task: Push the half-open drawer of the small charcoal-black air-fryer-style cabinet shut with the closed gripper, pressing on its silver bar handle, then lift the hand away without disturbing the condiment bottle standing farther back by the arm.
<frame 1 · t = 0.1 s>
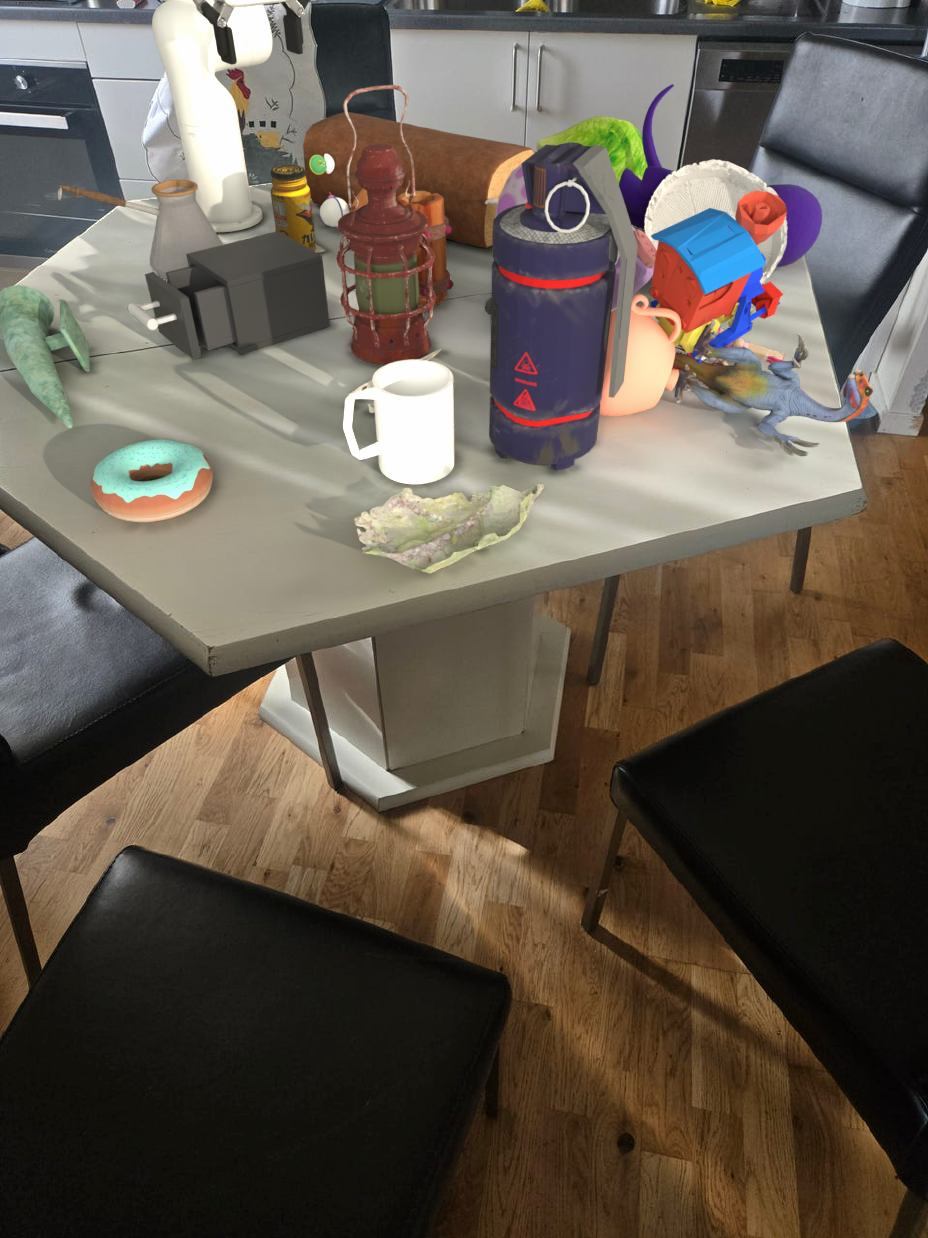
hand: (262, 57, 116), 28 cm above the table, tool pointing down, fingers open, 9 cm apart
toy 5: (780, 371, 110), point 1 cm above the table, touching teacup, toy train
cabinet: (265, 325, 122), on the table
bread: (419, 216, 154), on the table, touching figurine
decorative handle: (524, 309, 126), on the table, touching toy 3
figurine: (542, 206, 137), point 7 cm above the table, touching bread
canister: (550, 448, 99), on the table
drawer: (199, 308, 115), point 5 cm above the table, slide at 5.0 cm
toy 4: (631, 162, 139), point 11 cm above the table, touching food container
toy dinosaur: (693, 353, 99), point 8 cm above the table, touching sugar bowl, toy train
lettuce: (609, 112, 147), point 15 cm above the table
mug: (405, 300, 129), on the table
decorative horn: (29, 441, 100), on the table
cabbage leaf: (510, 532, 81), point 4 cm above the table
cup: (401, 469, 96), on the table
sugar bowl: (591, 346, 101), point 8 cm above the table, touching toy dinosaur, toy train
jawbone: (403, 385, 111), on the table
donut: (157, 497, 93), on the table
food container: (716, 225, 123), point 10 cm above the table, touching toy 4
teacup: (629, 318, 111), point 5 cm above the table, touching toy 5
lantern: (391, 348, 117), on the table
toy 3: (620, 243, 134), point 4 cm above the table, touching decorative handle
condiment: (292, 251, 143), on the table
toy 2: (323, 195, 151), point 4 cm above the table
toy train: (710, 321, 107), point 7 cm above the table, touching sugar bowl, toy dinosaur, toy 5
coffee pot: (160, 283, 134), on the table
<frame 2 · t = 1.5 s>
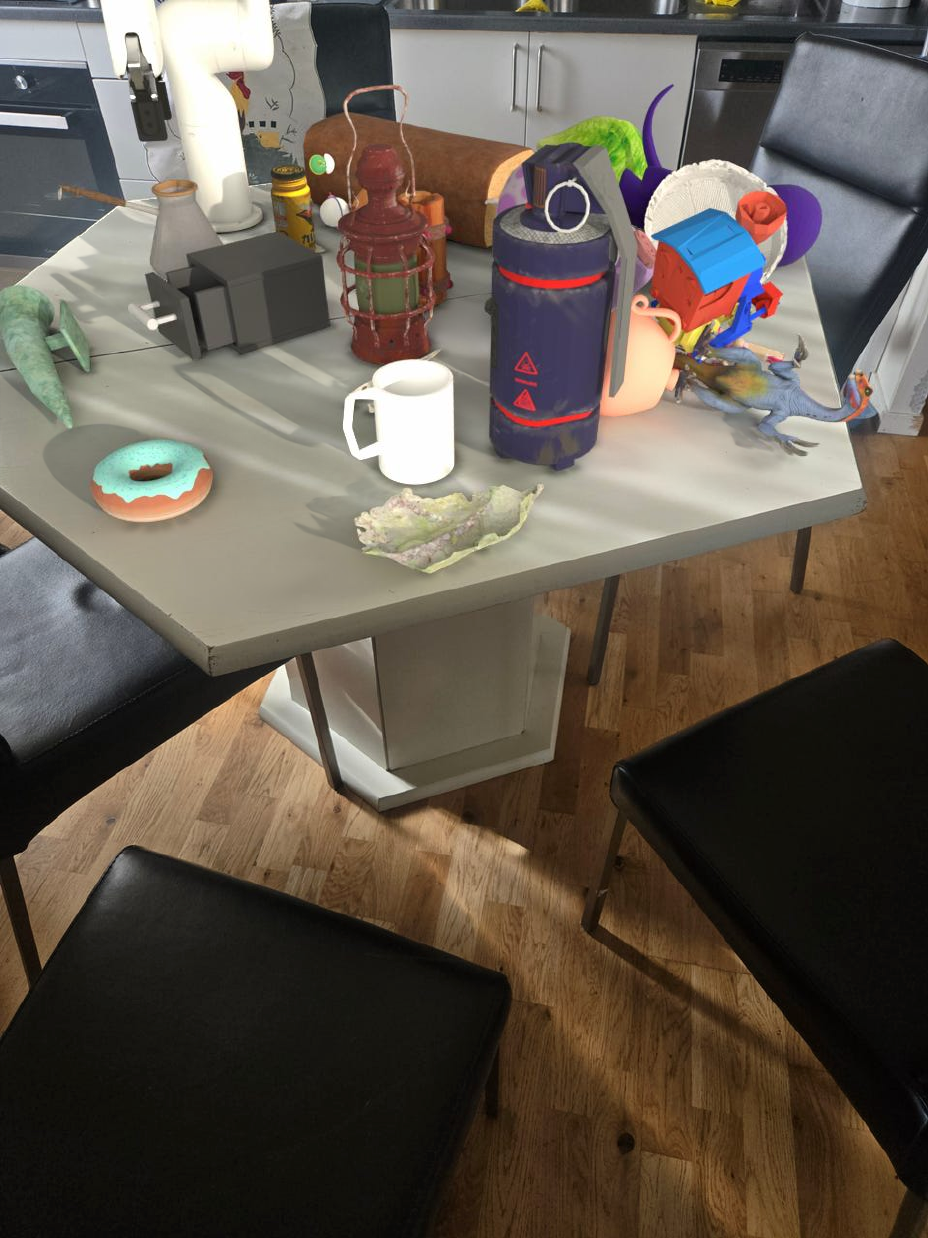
hand: (156, 129, 106), 24 cm above the table, tool pointing down, fingers open, 9 cm apart
toy 4: (631, 162, 139), point 11 cm above the table, touching food container, lettuce
lettuce: (609, 112, 147), point 15 cm above the table, touching toy 4
everything else where it was.
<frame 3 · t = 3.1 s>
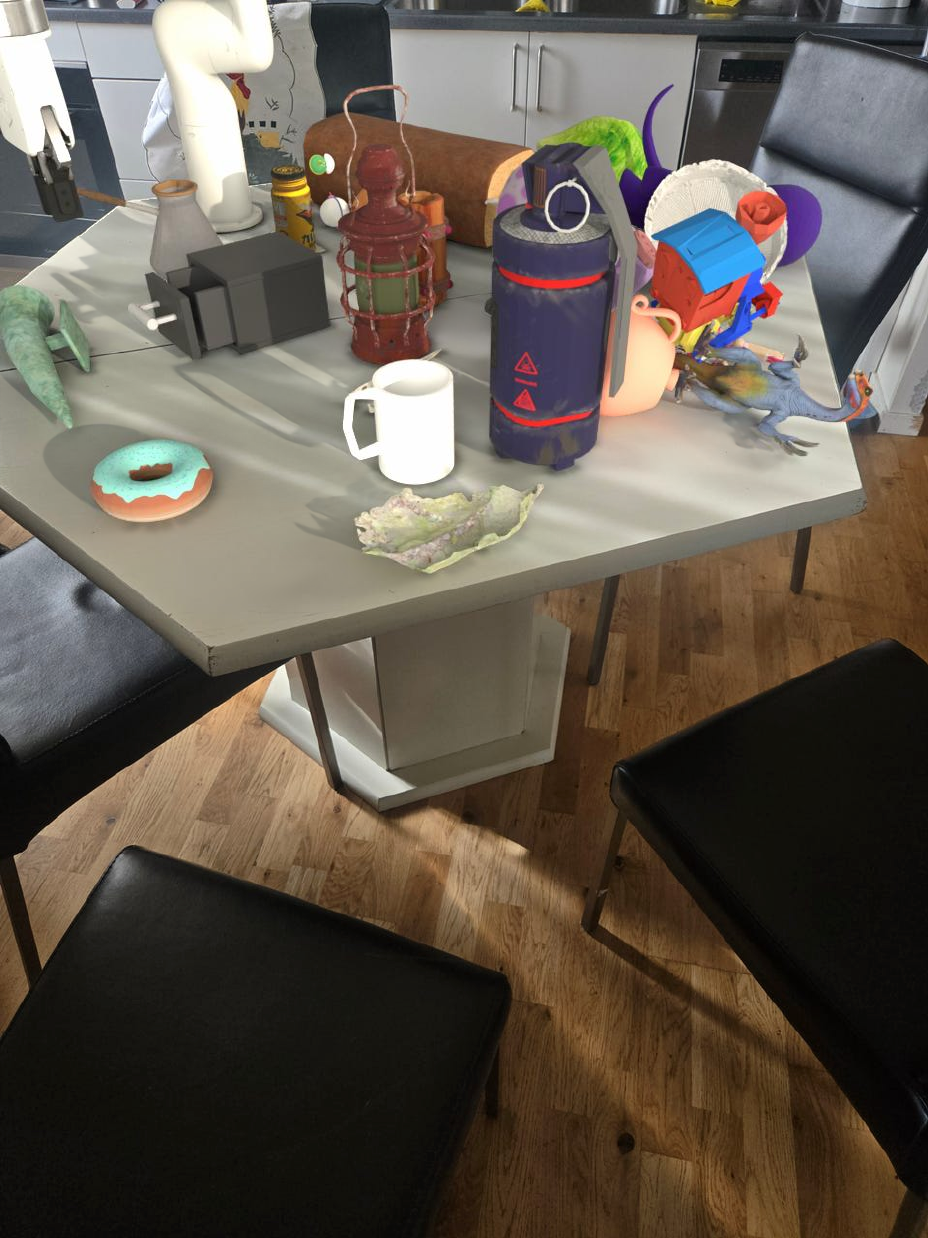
hand: (64, 214, 100), 19 cm above the table, tool pointing down, fingers closed
nothing on the table moved.
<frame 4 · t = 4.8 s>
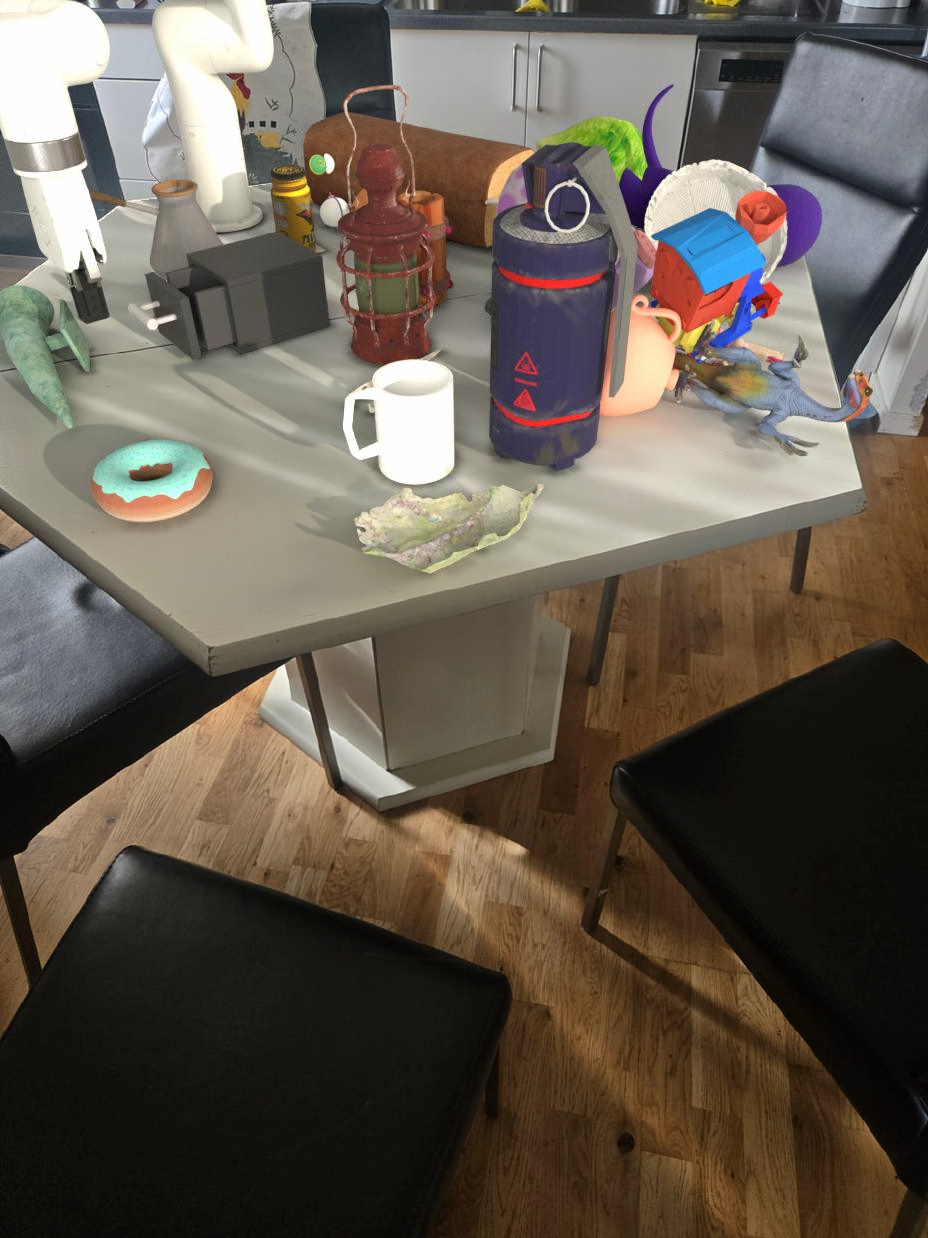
hand: (94, 318, 108), 7 cm above the table, tool pointing down, fingers closed
nothing on the table moved.
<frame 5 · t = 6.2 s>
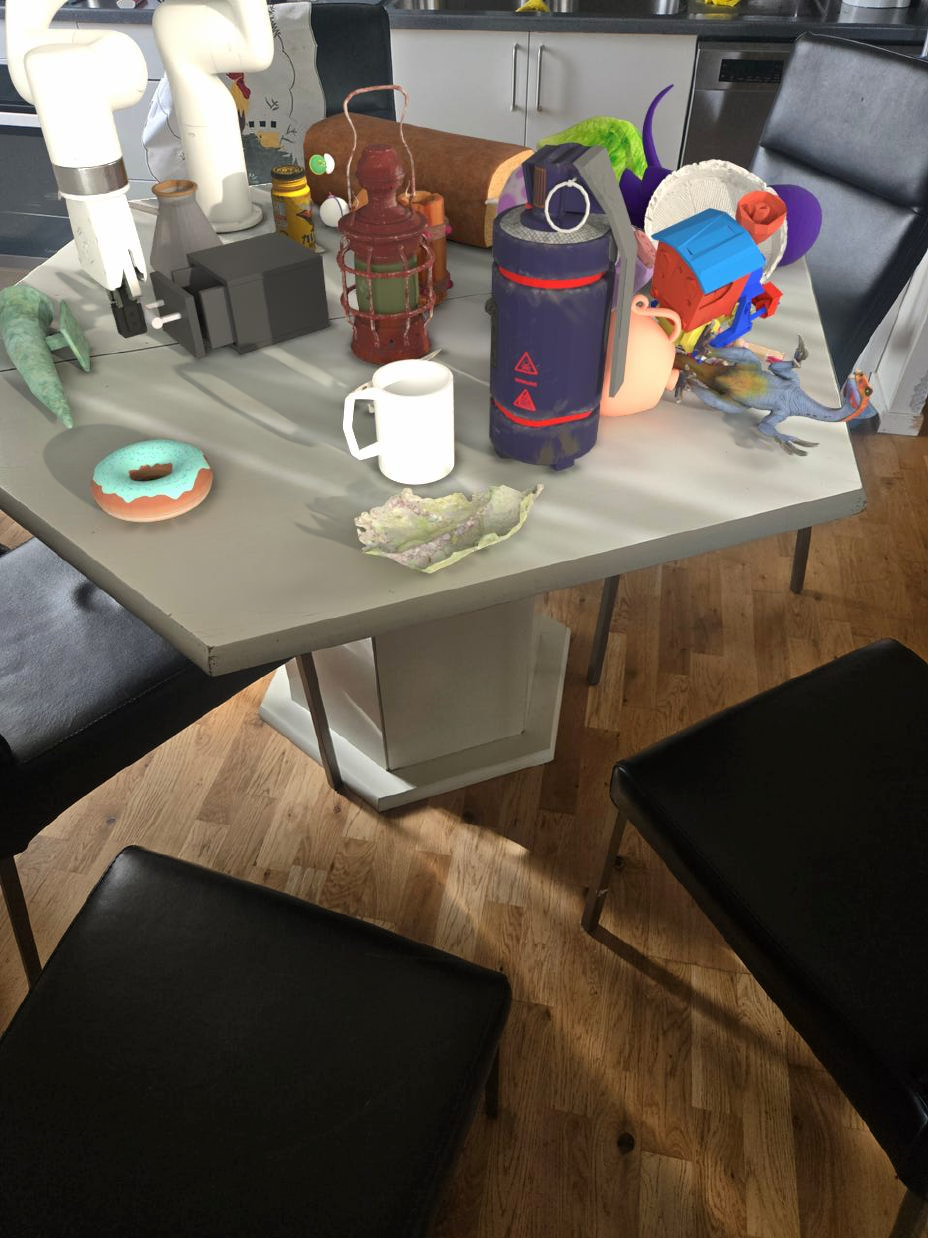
hand: (133, 333, 112), 4 cm above the table, tool pointing down, fingers closed
drawer: (204, 306, 116), point 5 cm above the table, slide at 4.4 cm, touching gripper
everything else where it was.
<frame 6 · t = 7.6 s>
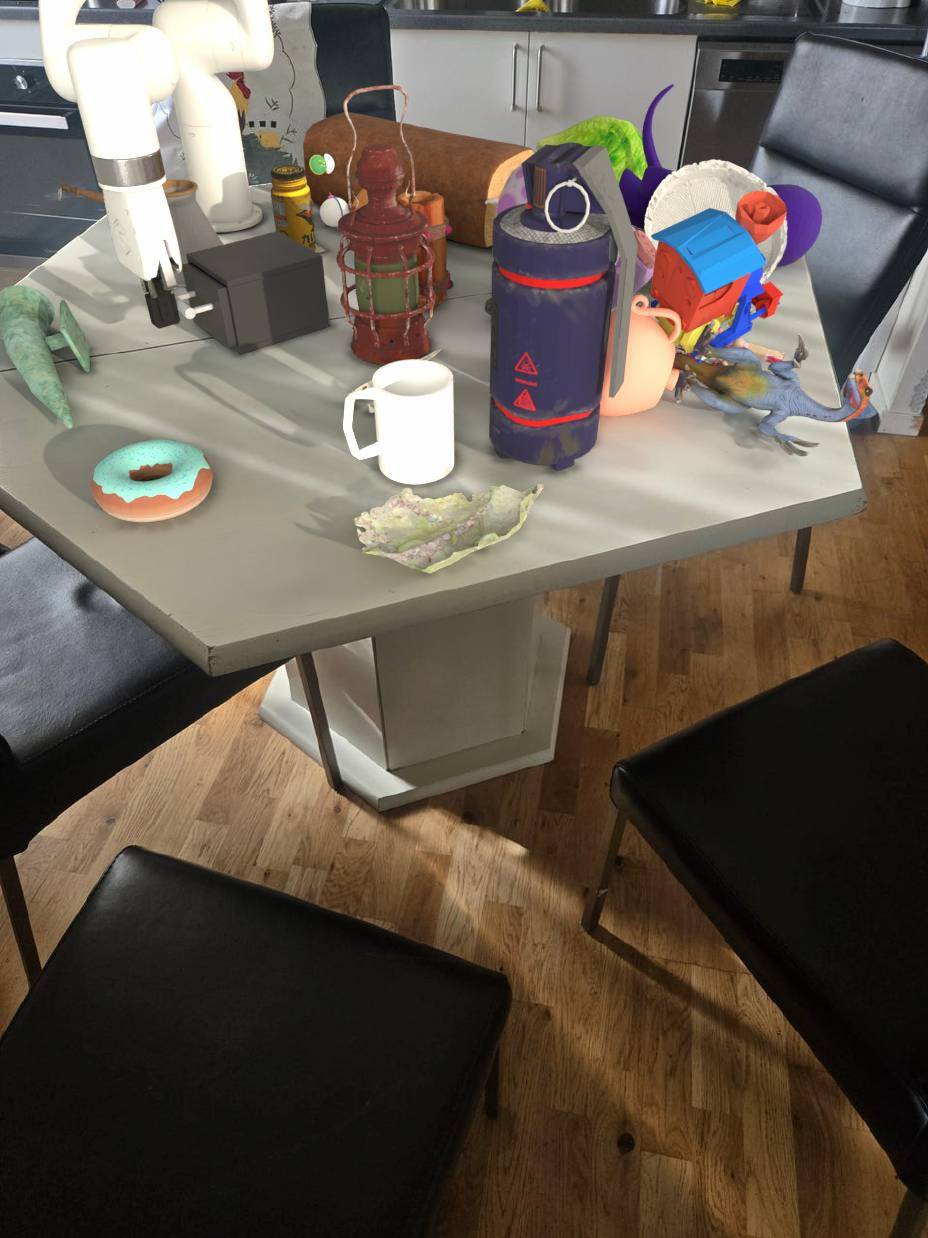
hand: (166, 323, 114), 4 cm above the table, tool pointing down, fingers closed
bread: (419, 216, 154), on the table, touching figurine, toy 2
drawer: (234, 298, 118), point 5 cm above the table, slide at 0.0 cm, touching cabinet, gripper
toy 2: (323, 195, 151), point 4 cm above the table, touching bread
everything else where it was.
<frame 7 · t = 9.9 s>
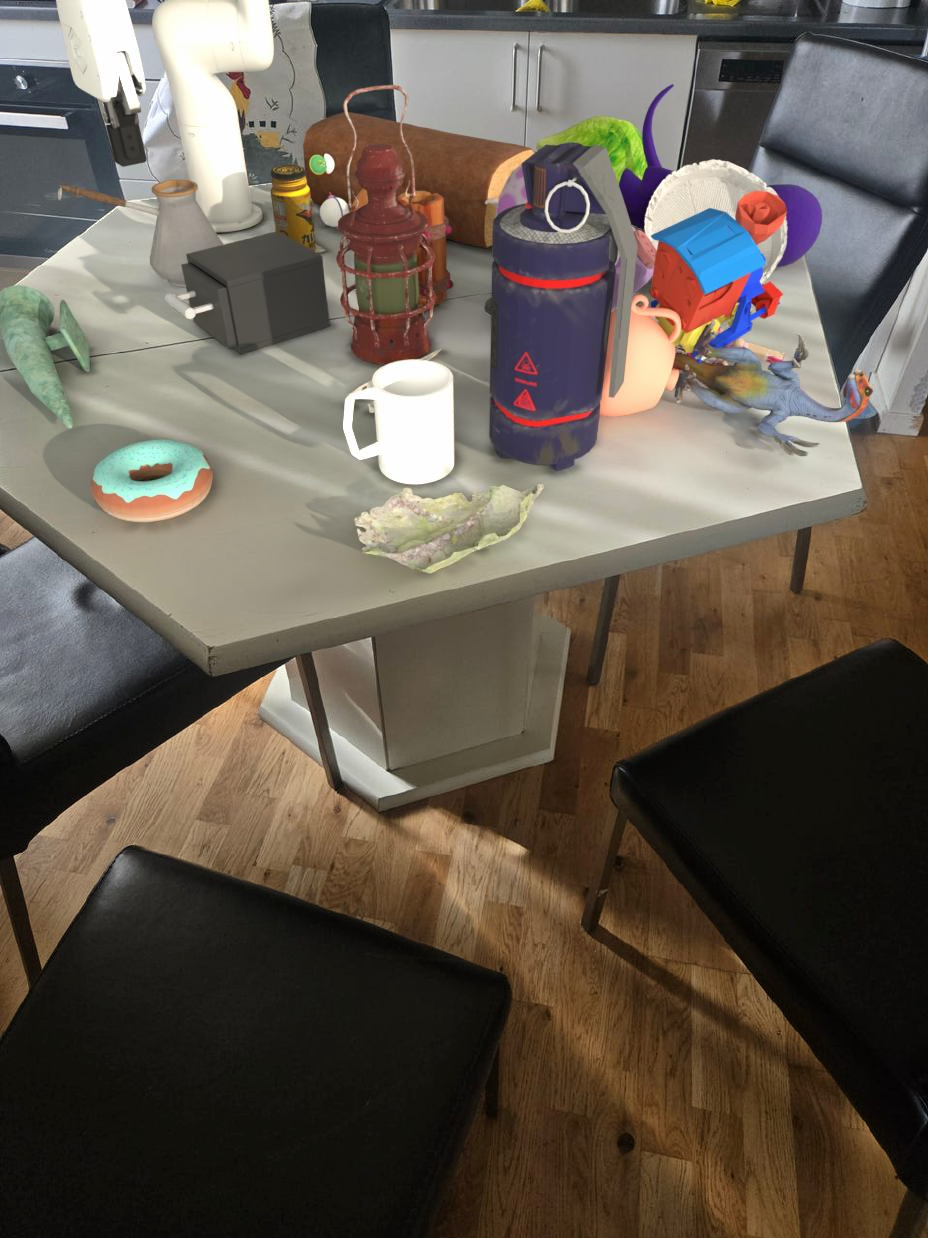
hand: (131, 162, 102), 23 cm above the table, tool pointing down, fingers closed
bread: (419, 216, 154), on the table, touching figurine
drawer: (234, 298, 118), point 5 cm above the table, slide at 0.0 cm, touching cabinet
toy 2: (323, 195, 151), point 4 cm above the table
everything else where it was.
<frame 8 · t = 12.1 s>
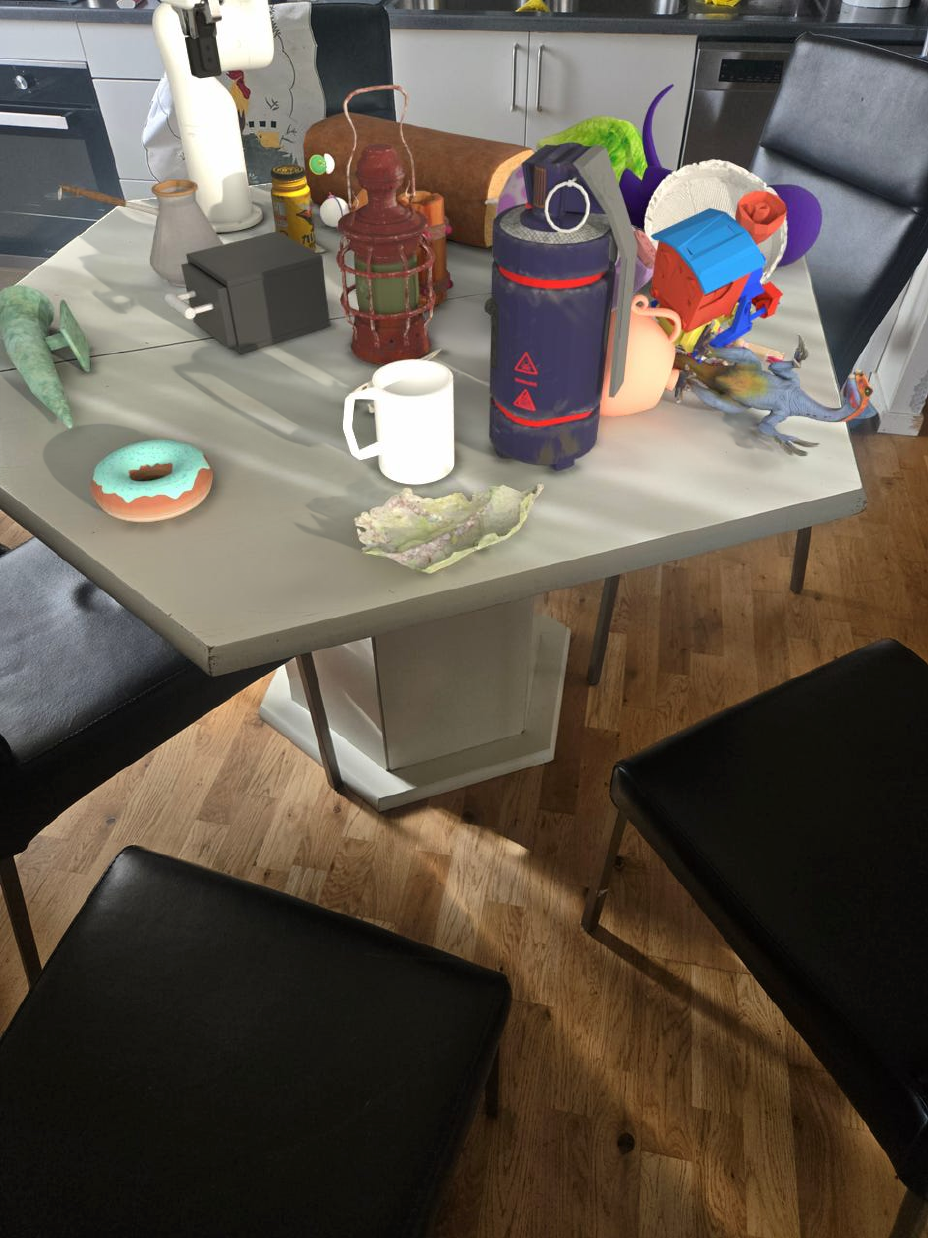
hand: (206, 75, 106), 29 cm above the table, tool pointing down, fingers closed
nothing on the table moved.
at the end: drawer slide at 0.0 cm; condiment moved 0.2 cm from its start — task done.
